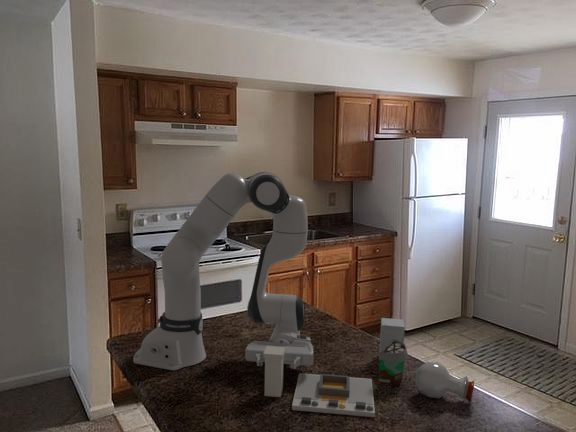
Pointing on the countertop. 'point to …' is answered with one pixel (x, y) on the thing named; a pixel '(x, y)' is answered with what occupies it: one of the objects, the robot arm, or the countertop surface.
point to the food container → (392, 363)
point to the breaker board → (334, 395)
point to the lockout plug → (273, 370)
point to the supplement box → (391, 332)
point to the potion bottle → (442, 382)
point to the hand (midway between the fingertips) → (276, 365)
